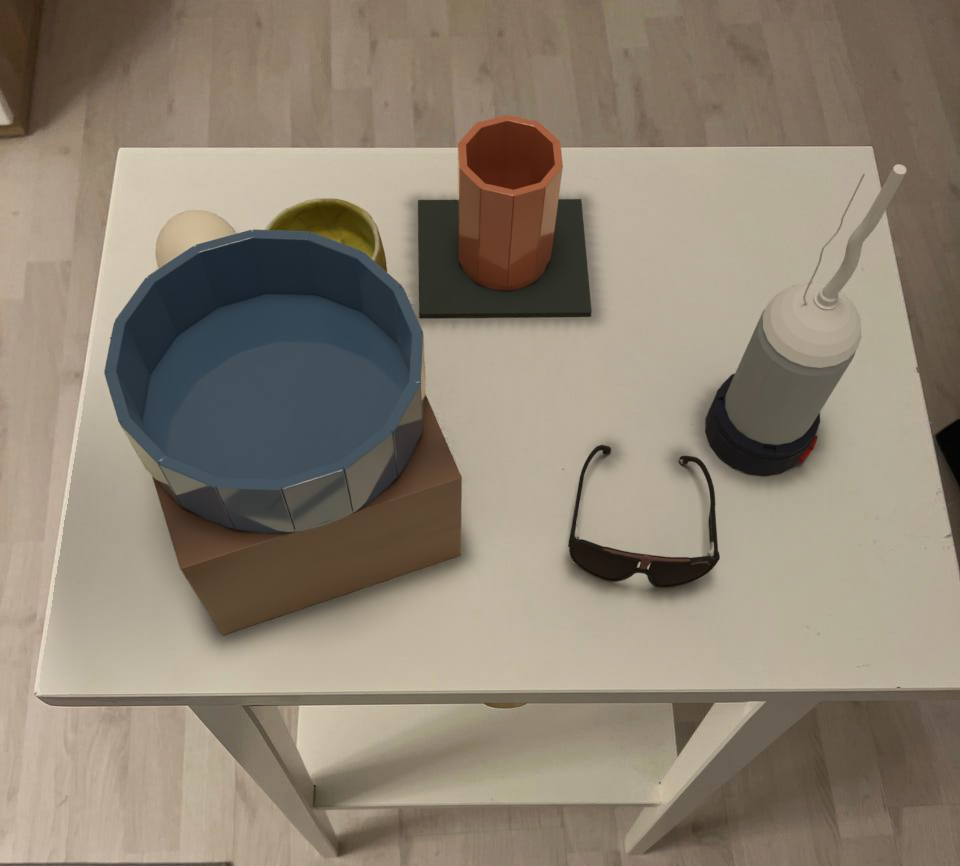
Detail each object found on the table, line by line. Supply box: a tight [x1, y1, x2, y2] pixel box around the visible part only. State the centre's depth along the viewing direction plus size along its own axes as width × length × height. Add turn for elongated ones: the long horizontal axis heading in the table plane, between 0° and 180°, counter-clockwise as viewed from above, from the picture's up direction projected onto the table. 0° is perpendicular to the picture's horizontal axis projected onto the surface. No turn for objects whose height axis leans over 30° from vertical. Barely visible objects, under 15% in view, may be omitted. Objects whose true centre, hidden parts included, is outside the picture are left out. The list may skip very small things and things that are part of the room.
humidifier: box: [704, 163, 908, 477], centre depth 63 cm, size 8×8×25 cm
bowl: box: [103, 228, 427, 533], centre depth 59 cm, size 18×18×5 cm
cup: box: [457, 114, 564, 291], centre depth 75 cm, size 8×8×10 cm
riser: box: [109, 336, 463, 636], centre depth 66 cm, size 18×18×11 cm
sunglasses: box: [567, 444, 721, 589], centre depth 69 cm, size 10×12×5 cm
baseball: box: [155, 209, 238, 270], centre depth 75 cm, size 7×7×7 cm
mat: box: [417, 198, 593, 319], centre depth 79 cm, size 14×12×1 cm
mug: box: [264, 197, 388, 273], centre depth 74 cm, size 12×10×10 cm
